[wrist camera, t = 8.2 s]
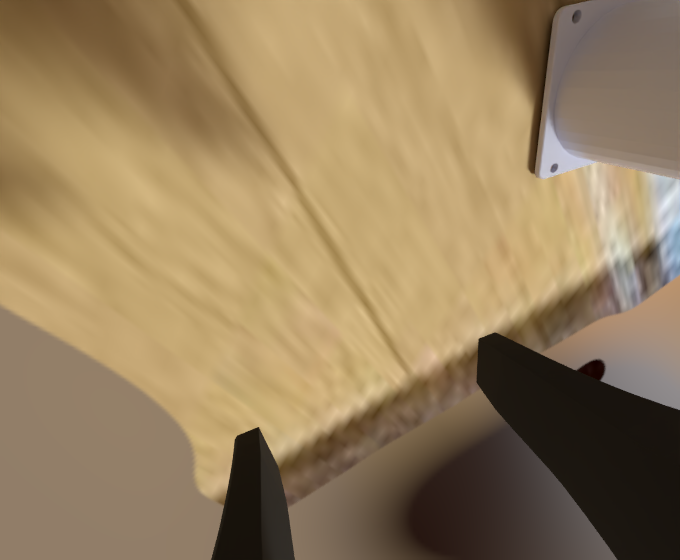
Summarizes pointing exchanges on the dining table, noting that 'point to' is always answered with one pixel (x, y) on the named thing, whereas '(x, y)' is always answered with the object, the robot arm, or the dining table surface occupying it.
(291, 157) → the dining table surface
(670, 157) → the robot arm
